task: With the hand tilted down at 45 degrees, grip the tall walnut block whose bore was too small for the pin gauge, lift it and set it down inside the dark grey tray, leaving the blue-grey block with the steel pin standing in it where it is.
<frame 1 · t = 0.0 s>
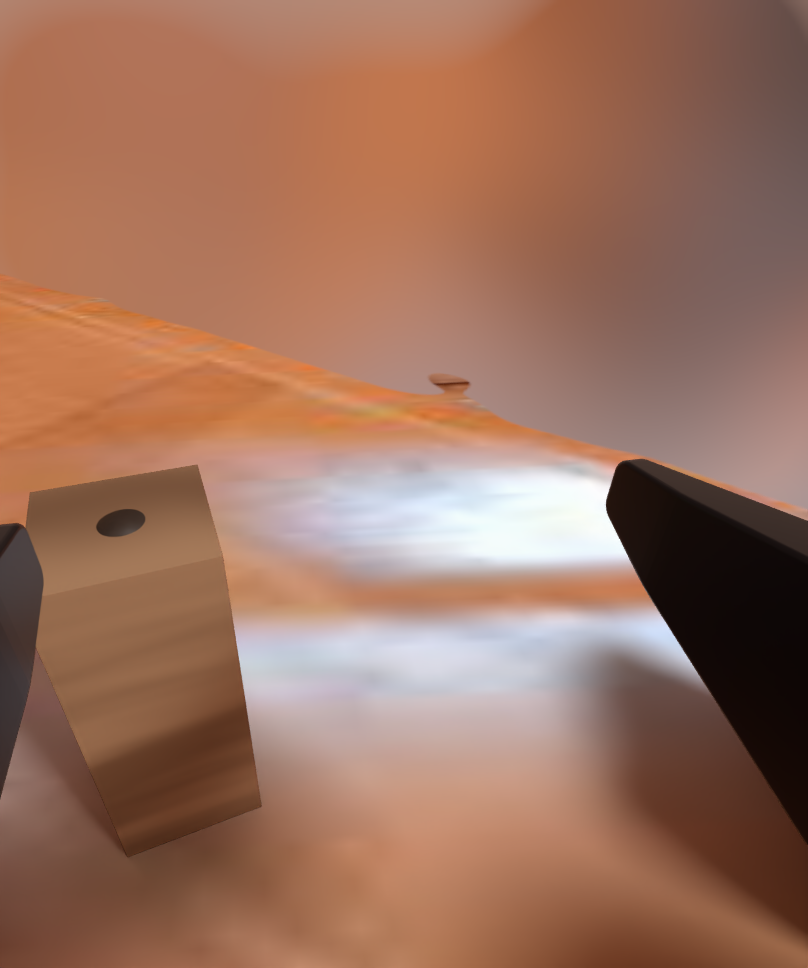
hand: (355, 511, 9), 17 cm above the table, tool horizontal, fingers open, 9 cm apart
walnut block: (188, 773, 22), on the table
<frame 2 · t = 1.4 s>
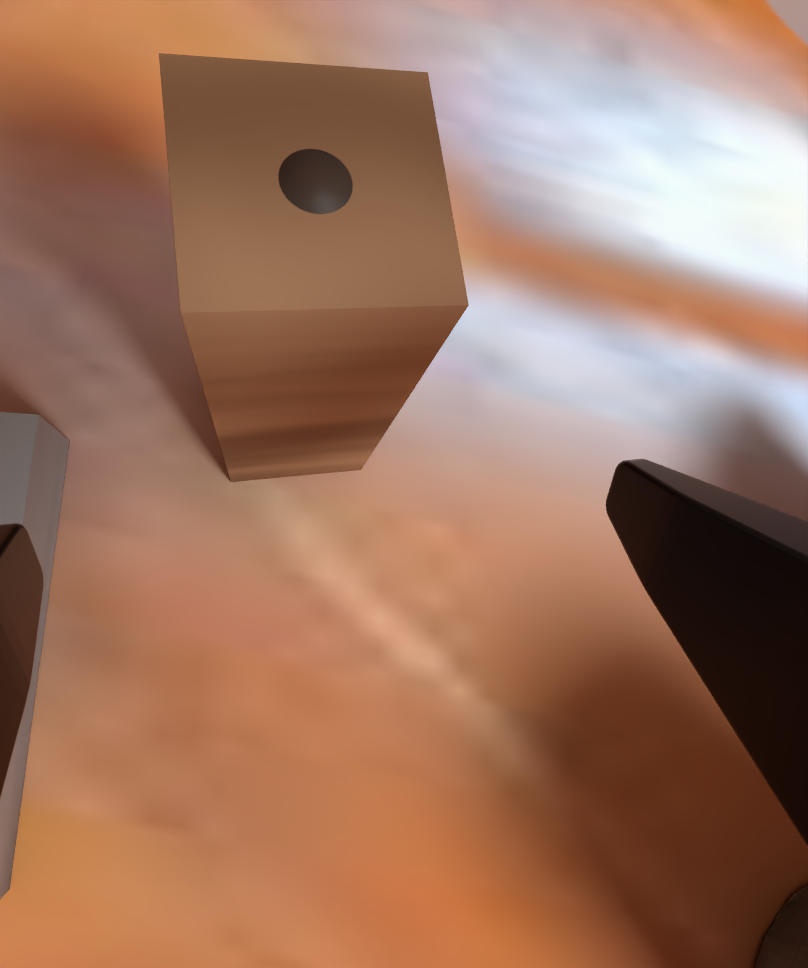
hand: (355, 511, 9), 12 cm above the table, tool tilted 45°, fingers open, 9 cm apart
walnut block: (290, 414, 21), on the table
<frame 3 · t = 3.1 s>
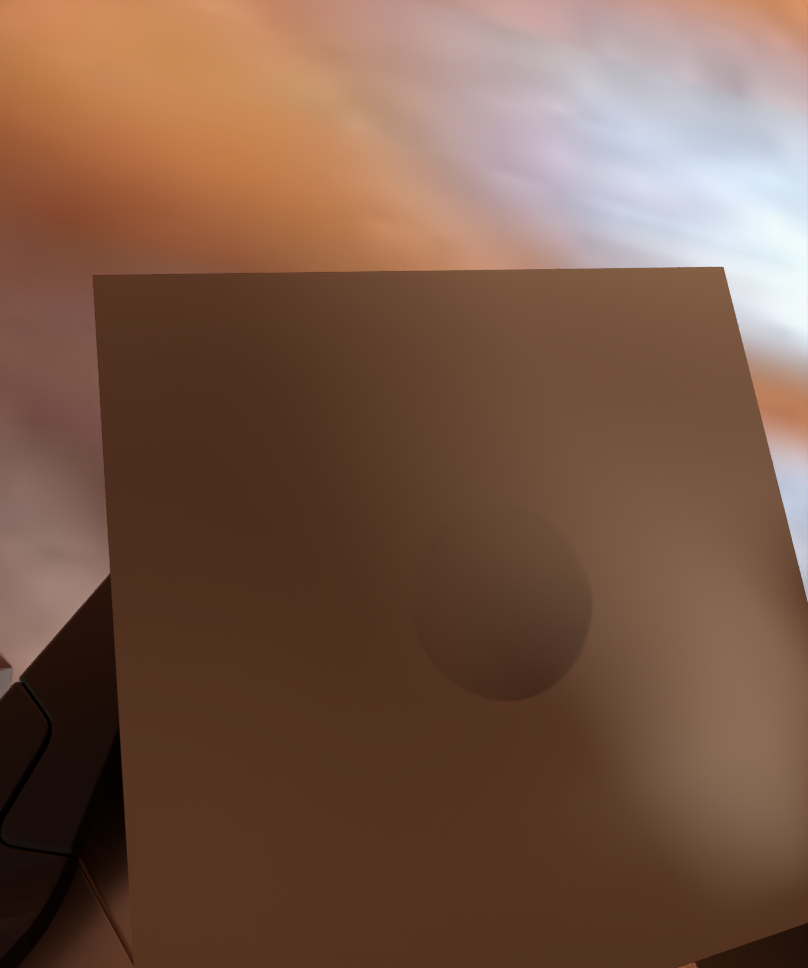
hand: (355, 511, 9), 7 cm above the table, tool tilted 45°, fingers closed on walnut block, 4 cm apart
walnut block: (326, 603, 15), on the table, touching gripper
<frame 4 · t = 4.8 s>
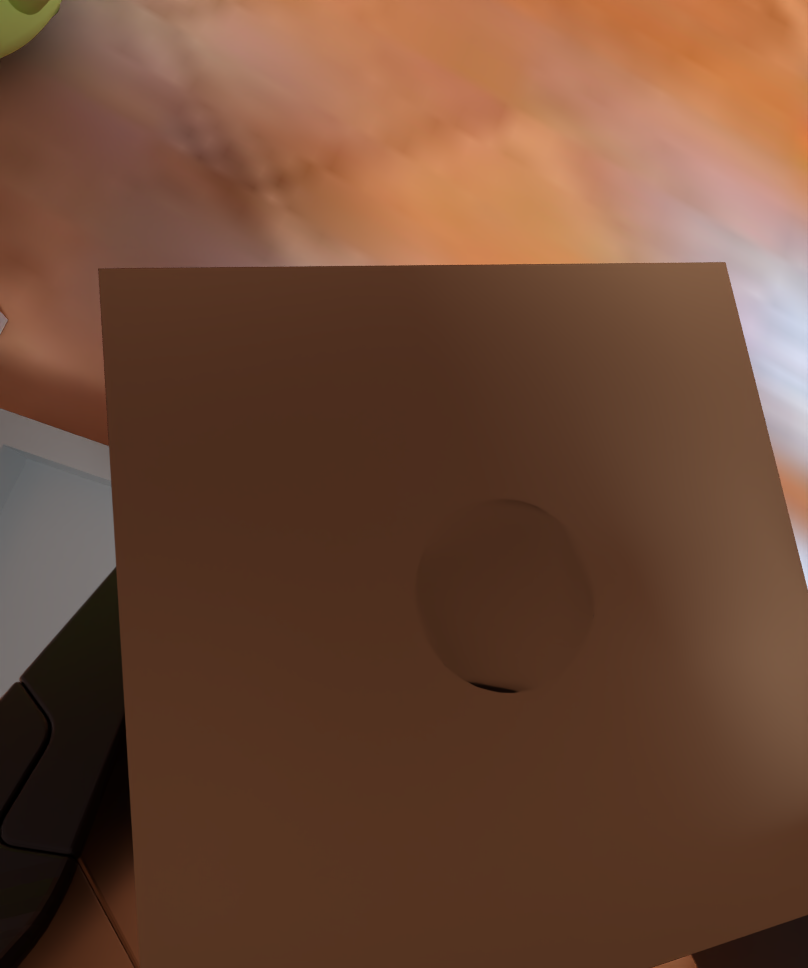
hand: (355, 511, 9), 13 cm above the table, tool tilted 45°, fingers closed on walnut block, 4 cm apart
tray: (129, 669, 20), on the table
walnut block: (327, 601, 15), point 7 cm above the table, touching gripper
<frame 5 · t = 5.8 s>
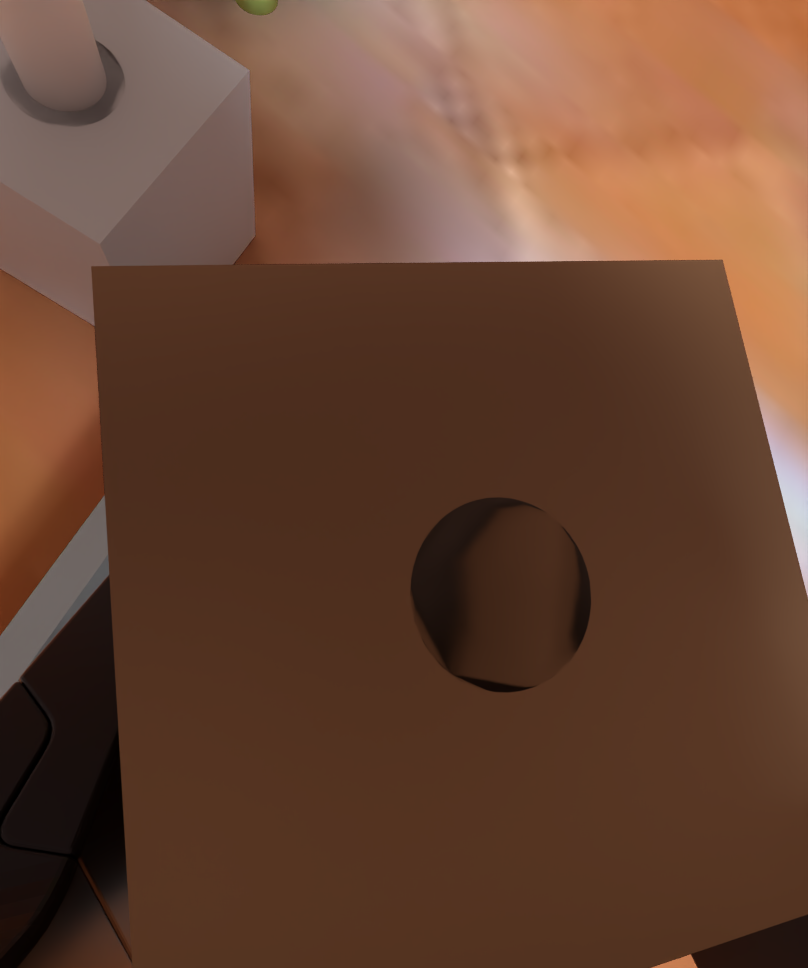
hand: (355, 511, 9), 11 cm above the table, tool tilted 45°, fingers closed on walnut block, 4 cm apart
tray: (312, 598, 20), on the table
gauged block: (131, 249, 20), on the table
walnut block: (326, 601, 15), point 5 cm above the table, touching gripper
when the fingers open (9 cm above the table, at t = 6.5 s): walnut block drops 1 cm, resting on tray.
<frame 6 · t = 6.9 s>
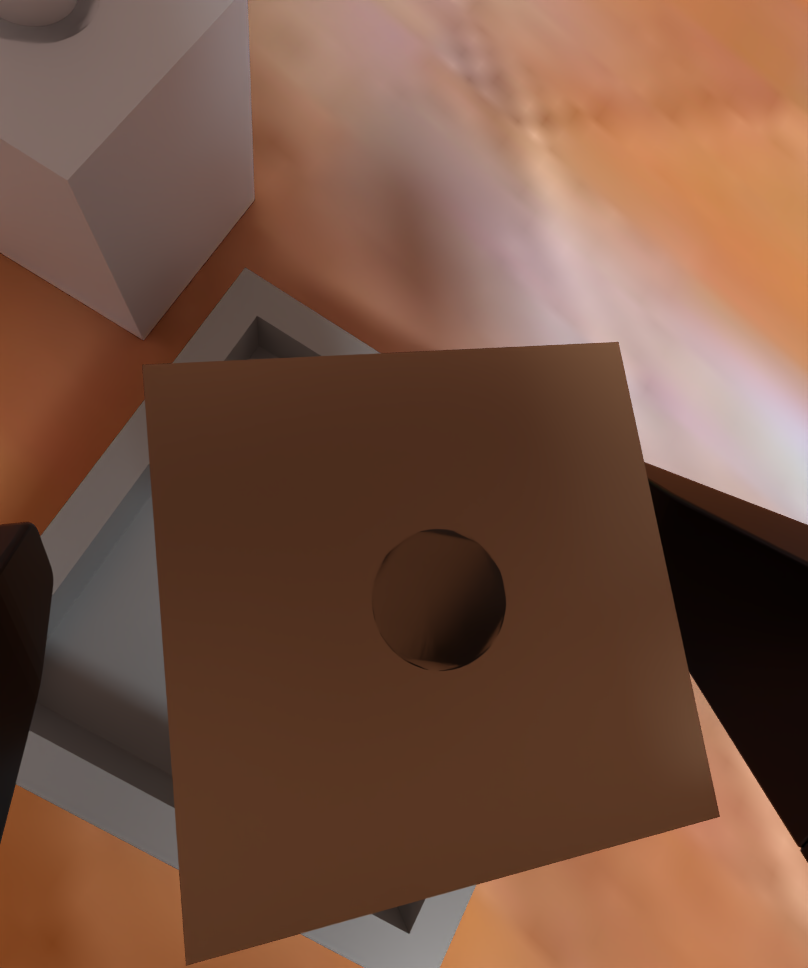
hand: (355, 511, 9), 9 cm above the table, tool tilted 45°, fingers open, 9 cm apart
tray: (319, 603, 17), on the table
gauged block: (115, 212, 18), on the table
walnut block: (321, 601, 17), point 1 cm above the table, touching tray
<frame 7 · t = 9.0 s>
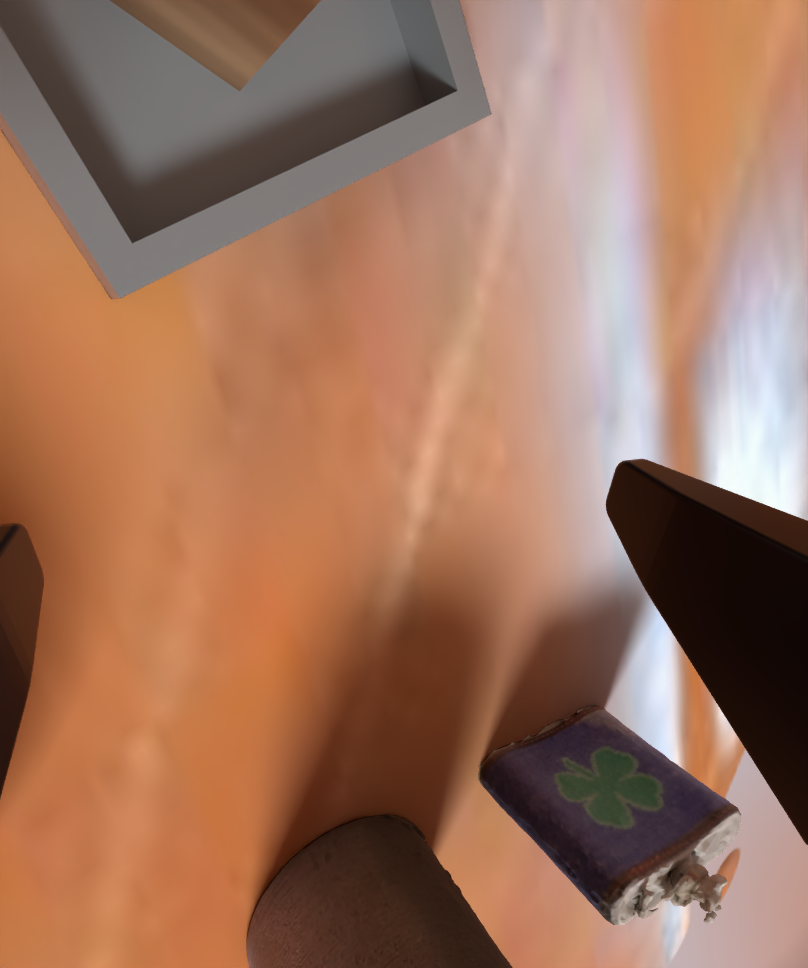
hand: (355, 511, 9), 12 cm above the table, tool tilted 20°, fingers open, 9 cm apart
pillar candle: (339, 899, 29), on the table
flask: (540, 743, 34), on the table
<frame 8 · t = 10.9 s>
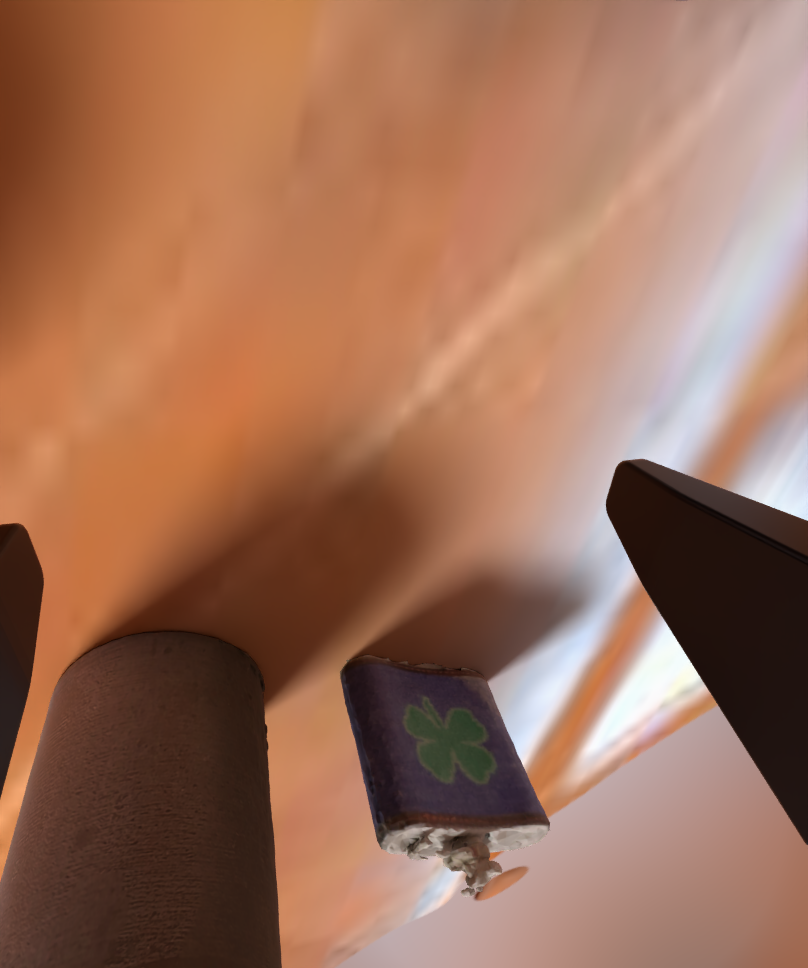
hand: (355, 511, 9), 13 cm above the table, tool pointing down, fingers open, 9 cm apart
pillar candle: (160, 696, 29), on the table
flask: (412, 674, 33), on the table
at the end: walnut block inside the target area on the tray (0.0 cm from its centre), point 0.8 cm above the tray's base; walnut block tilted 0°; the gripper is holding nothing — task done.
